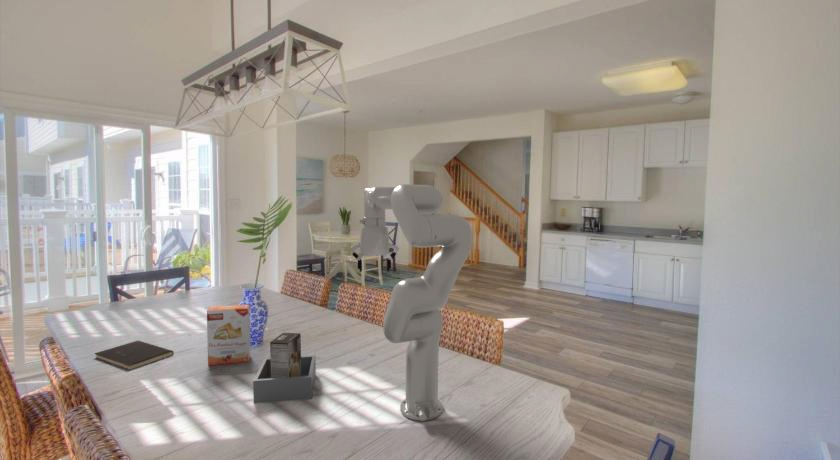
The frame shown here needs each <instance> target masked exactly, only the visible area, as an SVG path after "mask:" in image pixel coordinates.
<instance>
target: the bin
mask: <svg viewBox="0 0 840 460" xmlns="http://www.w3.org/2000/svg"><path fill="white" fill-rule="evenodd" d="M316 359H317V358H316V355H303V356H302V355H301V376H299V377H284V378H271V357H265V358H263V360H262V362H261V363H260V366H259V367H258V370H257V373H256V374H255V376H254V379H253V381H252V387H253V393H252V394H253V404H262V403H274V402H287V401H290V402H291V401H299V400H300V401H302V400H312V399H313V393H314V392H313V391H314V386H315V381H316V376H317V375H316V374H317V373H316V371H317V369H316V365H317V364H316Z"/></svg>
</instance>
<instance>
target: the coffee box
mask: <svg viewBox="0 0 840 460" xmlns="http://www.w3.org/2000/svg"><path fill="white" fill-rule="evenodd" d="M301 335H302V334H301V333H297V332H296V333H294V332H282V333H281V334H279V335H278V336H277V337H275V338H274V339H272V340H271V341H270V342H269V343H270V345H269V347H270V348H269V349H270V351H269V352H270V358H271V378H284V377H299V376H301V356H302V347H301V346H302V343H301V342H302V341H301Z"/></svg>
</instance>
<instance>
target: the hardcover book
mask: <svg viewBox="0 0 840 460" xmlns="http://www.w3.org/2000/svg"><path fill="white" fill-rule="evenodd" d="M94 355H96V358H97V359H100V360H103V361H106V362H109V363H111V364H113V365H117V366H119V367H121V368H125V369H128V370H133V369H136V368H139V367H141V366H144V365H147V364H150V363H154V362H156V361H158V360H161V359H164V358H168V357H170V356H173V355H174V351H173V349H172V350H171V349H168V348H165V347H161V346H157V345H155V344H152V343H148V342H145V341H141V340H135V341H131V342H128V343H125V344H121V345H118V346H115V347H111V348H108V349H104V350H101V351H97V352H95V353H94Z"/></svg>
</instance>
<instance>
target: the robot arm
mask: <svg viewBox="0 0 840 460" xmlns="http://www.w3.org/2000/svg"><path fill="white" fill-rule="evenodd" d="M443 202H444V198H443V194H442V192H441V190H440V189H438V188H436V186H433V185H430V184H409V183H407V184H404V183H403V184H400V185H397V186H374V187H366V188H365V189H364V191H363V218H362V219H359V224H362V225H363V226H362V227H361V230H360V239H359V242H357V243H355V244H354V245H352V246H350V247H349V251H350V252H351V254H352V256H353V257H354V258H355V260H356V261H357V270H359V272H360V273H362V272H363V260H362V258H363V257H364V256H370V257H371V256H386V257H387V259H386V260H385V261H386V263H385V264H386V268H385V269H386V271H387V272H390V269H392V260H393V259H394V258H395V256H396V255H397V253H398V251H399V247H398V246H397V245H394V244H393V243H391V242H390V239H389V238H390V234H389V228H388V226H386V210H391V211H392V213H393V215H394V217H395V219H396V221H397V223H398V225H399V228H400V230H401V231H402V233H403V235H404V237H405V239H406V241H407V242H408V244H409V245H410V246H412V247H414V248H418V249H419V248H420V249H421V248H422V249H423V248H433V247H436V248H437V247H441V248H440V249H439V250H438V251H437V252H435V254H433V256H432V257H431V258H430V260H429V262H428V264H427V265H426V269H425V271H424V273H423V275H421V276H418V277H412V278H406V279H402V280H400V281H399V282H397V283H396V284H395V285H394V287H393V289H392V291H391V294H390V297H389V300H388V303H387V307H386V311H385V313H384V316H383V322H382V329H383V335H384V337H385V338H386V339H387V341H389V342H390V343H392V344H402V343H407V342H409V343H408V344H407V348H406V351H405V352H406V354H405V399H404V400H402V401H401V403H400V406H399V407H400V408H399V409H400V412H401V414H402V416H404V417H405V418H407V419H409V420H414V421H422V422H424V421H430V420H434V419H437V418H439V417H440V415H442V413H443V411H444V409H443V407H444V406H443V403H442V402H441V400H438V399H439V356H440V355H439V351H440V340H441V334H442V330H443V323H444V322H443V321H444V318H443V314H442V312H441V309H442V308H444V306H445V305H446V304H447V302H448V300H449V298H450V296H451V293H452V290H453V288H454V286H455V283H456V281H457V278H458V275H459V273H460V272H461V269H462V268H463V266H464V264H465V262H466V261H467V259H468V257H469V255H470V252H471V249H472V246H473V245H472V244H473V233H472V227H471V225H470V222H469V221H468V220H467V219H466V218H465V217H463V216H462V215H458V214H453V213H449V214H448V213H437V212H438V211H439V210H440V209H441V208H442V205H443ZM435 213H437V214H435ZM358 248H359V252H360V253H359V254H358V253H356V251H355V250H356V249H358ZM390 248H392V250H393V251H392V252H391V253H390Z"/></svg>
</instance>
